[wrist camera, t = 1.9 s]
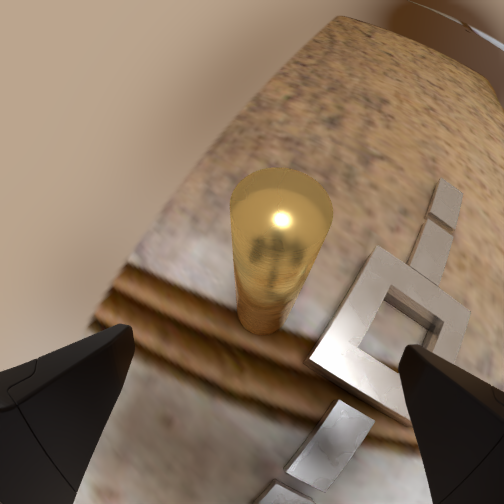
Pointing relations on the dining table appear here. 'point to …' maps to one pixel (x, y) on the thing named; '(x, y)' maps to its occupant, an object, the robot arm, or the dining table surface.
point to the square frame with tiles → (366, 367)
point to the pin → (275, 242)
